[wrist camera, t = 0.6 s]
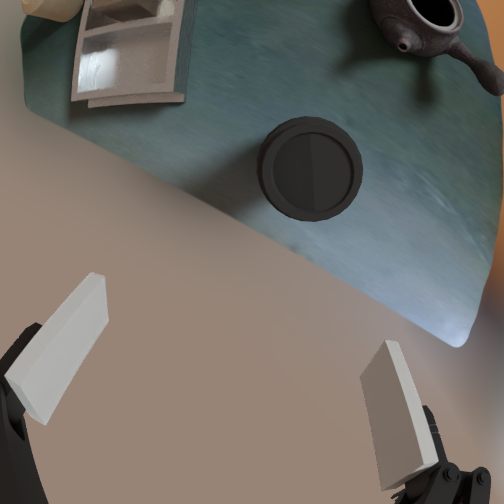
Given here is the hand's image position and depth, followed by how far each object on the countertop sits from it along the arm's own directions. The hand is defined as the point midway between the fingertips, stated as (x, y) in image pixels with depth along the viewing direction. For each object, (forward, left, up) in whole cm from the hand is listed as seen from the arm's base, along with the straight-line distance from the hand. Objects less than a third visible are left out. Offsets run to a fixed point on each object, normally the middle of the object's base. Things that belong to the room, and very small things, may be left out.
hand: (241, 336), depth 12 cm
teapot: (-24, +19, -26) cm, 40 cm away
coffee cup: (-5, +3, -26) cm, 27 cm away
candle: (-28, -32, -26) cm, 50 cm away
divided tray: (-20, -18, -26) cm, 37 cm away
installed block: (-25, -18, -25) cm, 39 cm away
